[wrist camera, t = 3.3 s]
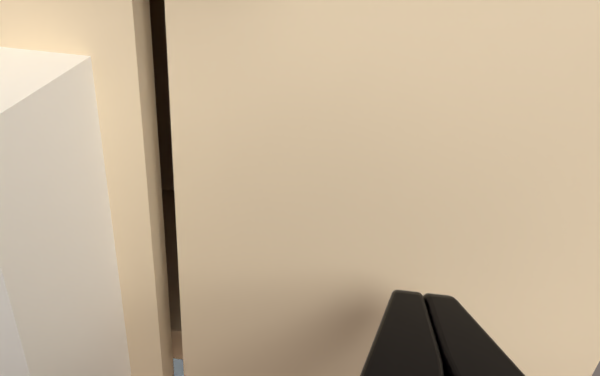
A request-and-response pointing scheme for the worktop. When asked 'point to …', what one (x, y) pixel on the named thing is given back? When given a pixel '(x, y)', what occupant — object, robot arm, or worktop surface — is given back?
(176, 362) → the worktop surface
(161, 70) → the carton
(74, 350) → the outer lid
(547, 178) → the inner lid
